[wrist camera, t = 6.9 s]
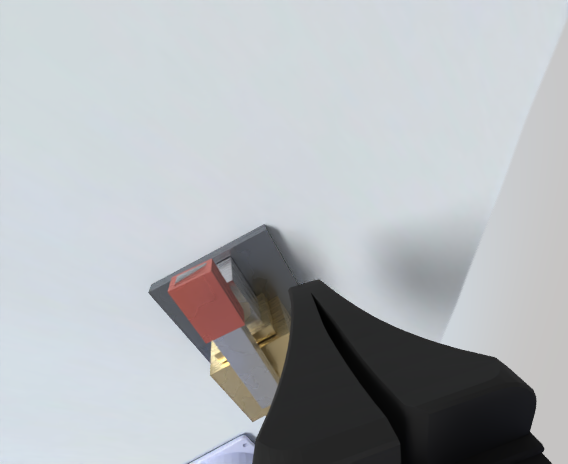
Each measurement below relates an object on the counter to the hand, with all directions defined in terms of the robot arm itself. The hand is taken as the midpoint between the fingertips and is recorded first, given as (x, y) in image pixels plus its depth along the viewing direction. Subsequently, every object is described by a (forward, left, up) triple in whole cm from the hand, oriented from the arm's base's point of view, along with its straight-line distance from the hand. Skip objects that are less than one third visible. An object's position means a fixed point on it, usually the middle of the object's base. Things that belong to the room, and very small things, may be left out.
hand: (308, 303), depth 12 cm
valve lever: (-3, +5, -4) cm, 7 cm away
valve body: (-8, +5, -9) cm, 13 cm away
